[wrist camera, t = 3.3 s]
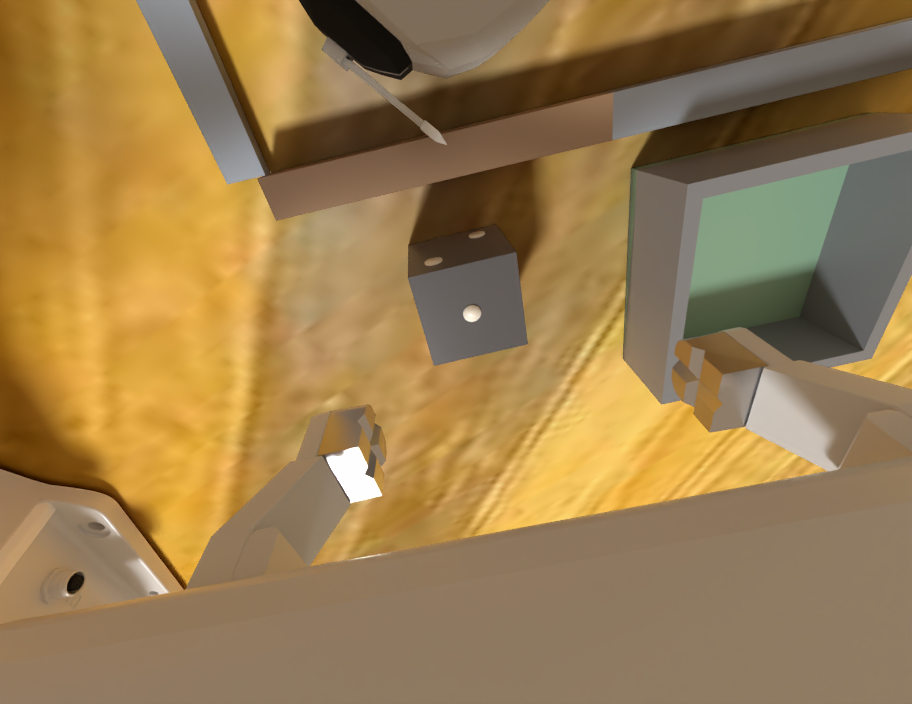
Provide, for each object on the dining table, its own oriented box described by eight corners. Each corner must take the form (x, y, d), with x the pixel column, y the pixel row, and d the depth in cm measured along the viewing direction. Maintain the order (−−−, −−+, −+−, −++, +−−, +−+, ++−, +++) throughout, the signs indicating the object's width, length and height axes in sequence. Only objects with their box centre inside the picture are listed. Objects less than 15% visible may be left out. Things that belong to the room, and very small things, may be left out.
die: (508, 302, 19) (529, 344, 16) (430, 321, 19) (434, 366, 16) (496, 222, 17) (517, 250, 14) (408, 243, 17) (407, 276, 14)
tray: (799, 319, 21) (871, 358, 18) (622, 358, 22) (661, 404, 18) (867, 112, 16) (988, 113, 13) (631, 168, 16) (688, 184, 13)
